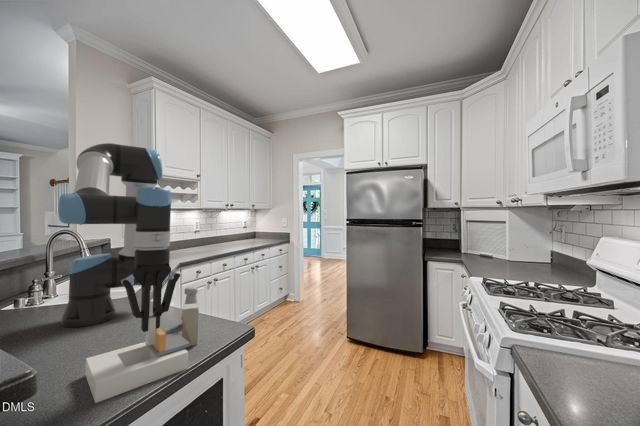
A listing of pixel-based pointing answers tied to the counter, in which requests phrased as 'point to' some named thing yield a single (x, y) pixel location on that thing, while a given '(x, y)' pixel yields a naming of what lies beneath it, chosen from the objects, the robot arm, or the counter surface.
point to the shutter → (167, 343)
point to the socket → (130, 369)
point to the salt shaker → (191, 296)
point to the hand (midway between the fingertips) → (150, 342)
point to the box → (190, 323)
